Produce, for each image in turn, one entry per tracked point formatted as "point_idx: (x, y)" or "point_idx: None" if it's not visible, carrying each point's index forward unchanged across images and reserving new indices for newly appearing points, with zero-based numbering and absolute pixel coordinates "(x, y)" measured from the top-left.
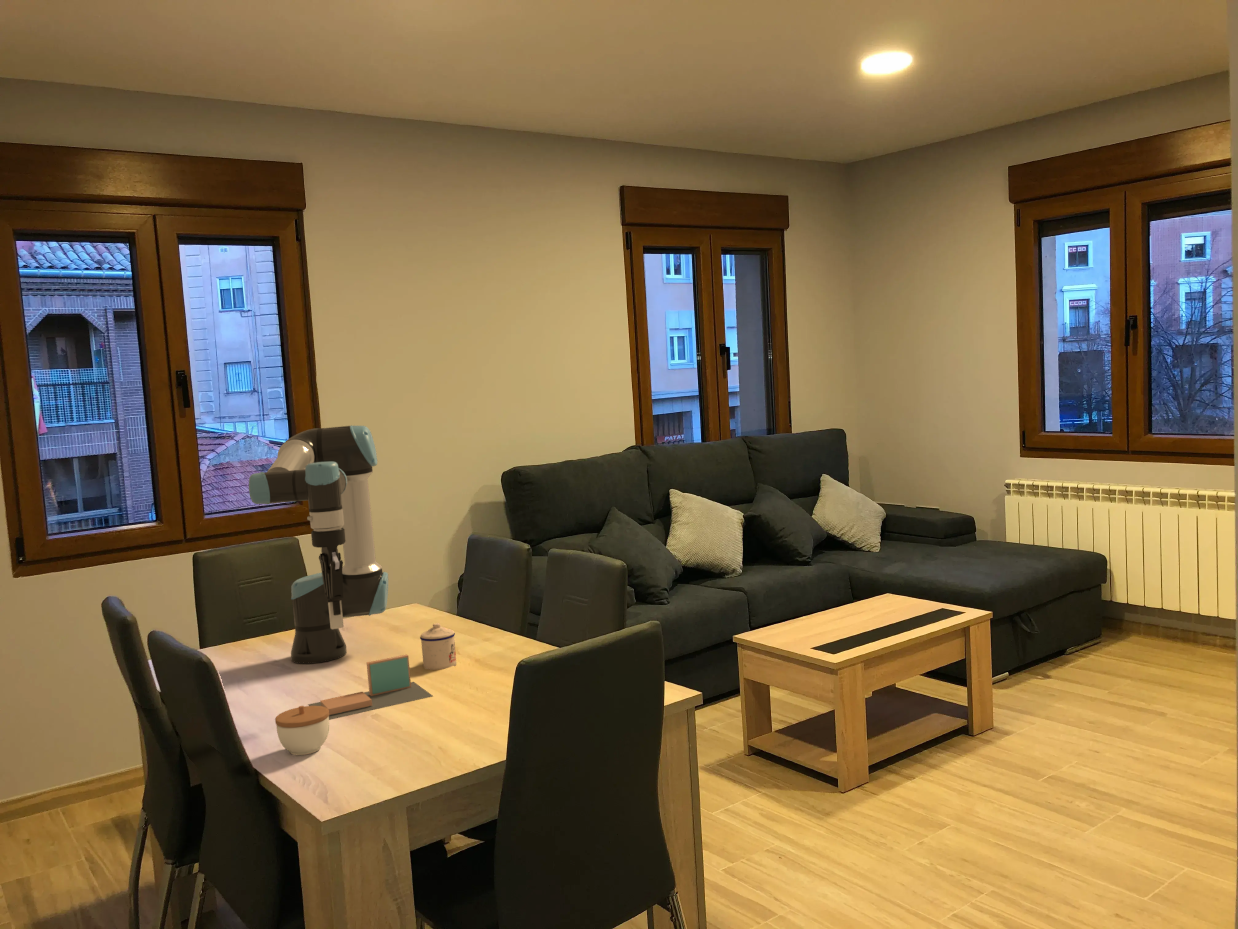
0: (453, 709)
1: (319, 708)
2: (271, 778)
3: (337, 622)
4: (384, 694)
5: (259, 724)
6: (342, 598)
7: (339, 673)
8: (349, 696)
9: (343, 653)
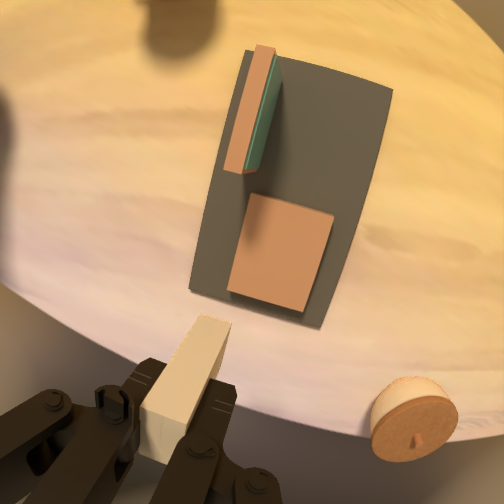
0: (480, 122)
1: (429, 412)
2: None
3: (218, 362)
4: (275, 144)
5: None
6: (271, 478)
7: (48, 136)
8: (258, 234)
9: None
